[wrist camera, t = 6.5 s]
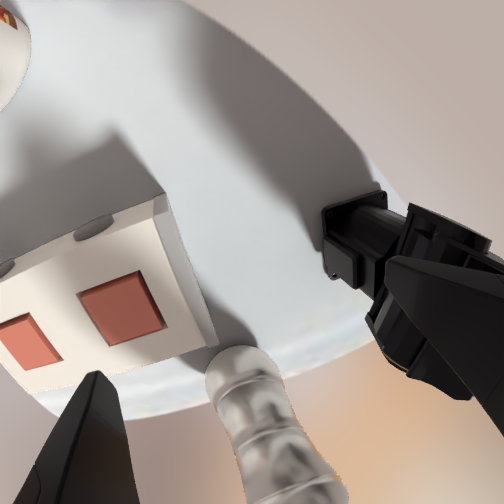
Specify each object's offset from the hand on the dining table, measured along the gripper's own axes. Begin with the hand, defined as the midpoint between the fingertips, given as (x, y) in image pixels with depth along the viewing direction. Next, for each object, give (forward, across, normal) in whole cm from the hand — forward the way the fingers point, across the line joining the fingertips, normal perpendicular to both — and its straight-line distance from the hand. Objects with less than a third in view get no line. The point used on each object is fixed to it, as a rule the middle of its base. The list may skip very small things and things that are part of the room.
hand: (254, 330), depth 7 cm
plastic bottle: (+12, +1, +14) cm, 19 cm away
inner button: (+10, +6, +3) cm, 12 cm away
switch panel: (+12, +10, +3) cm, 16 cm away
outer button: (+9, +14, +3) cm, 17 cm away
